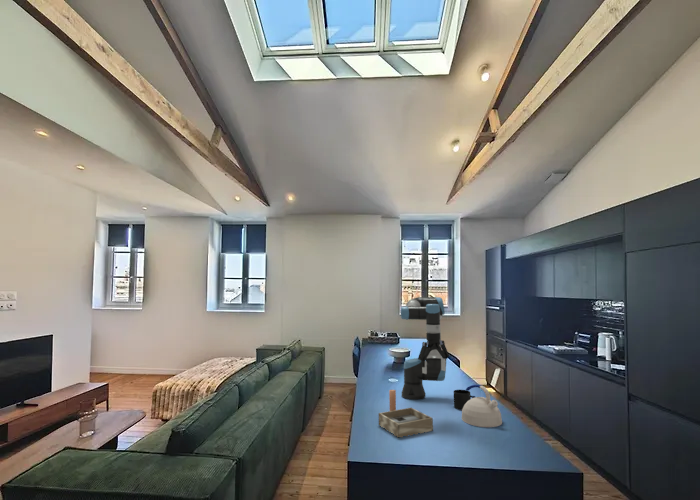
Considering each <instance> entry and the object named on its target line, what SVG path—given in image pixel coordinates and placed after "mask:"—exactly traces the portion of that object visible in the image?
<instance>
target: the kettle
mask: <svg viewBox="0 0 700 500" xmlns="http://www.w3.org/2000/svg"><path fill="white" fill-rule="evenodd" d="M474 388H479V389H481V390H482V391H483V392H484V394H485V397H484V396H475V395H471V396H472V397H471V399H470V400H469V401H467V402H466V404H465V405H464V407H463V409H462V410H461V420H462V421H463V422H464V424H465V423H466V424H468V425H470V426H474V427H479V428H497V427H499V426H501V425H502V424H503V420H502V412H501V410H500V408H499V407H498V406H499V403H498V401H497V400H496V399H492V400H491V396H490V395H491V394H490V392H489V390H488V389H487V388H486V387H485V386H484V385H480V384H472V385H469V386H467V387H466V389H465V390H467V391H470V390H472V389H474ZM473 397H474V398H473Z"/></svg>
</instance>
